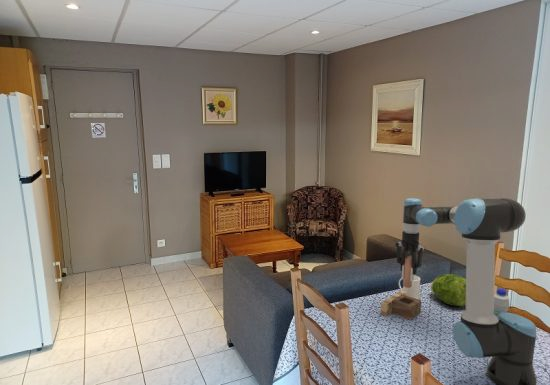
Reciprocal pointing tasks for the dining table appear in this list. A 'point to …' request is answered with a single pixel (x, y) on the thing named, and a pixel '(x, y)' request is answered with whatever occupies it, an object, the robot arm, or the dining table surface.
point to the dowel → (408, 272)
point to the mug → (412, 288)
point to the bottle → (500, 302)
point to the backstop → (389, 304)
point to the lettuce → (450, 289)
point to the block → (406, 307)
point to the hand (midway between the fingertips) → (407, 279)
